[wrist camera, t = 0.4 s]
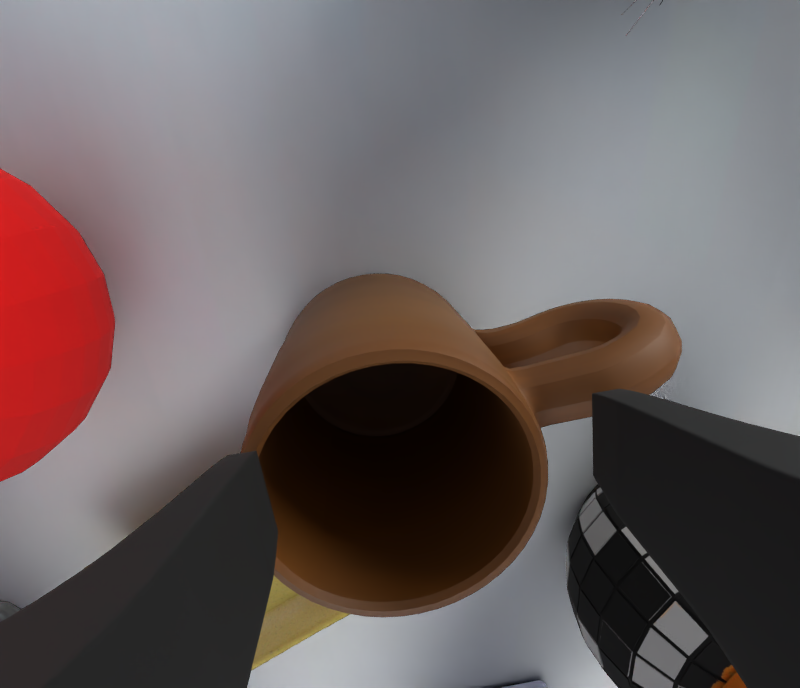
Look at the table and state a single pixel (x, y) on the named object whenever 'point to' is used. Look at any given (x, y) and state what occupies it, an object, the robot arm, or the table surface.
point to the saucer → (289, 622)
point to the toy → (642, 14)
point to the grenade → (636, 610)
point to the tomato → (46, 327)
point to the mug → (427, 435)
